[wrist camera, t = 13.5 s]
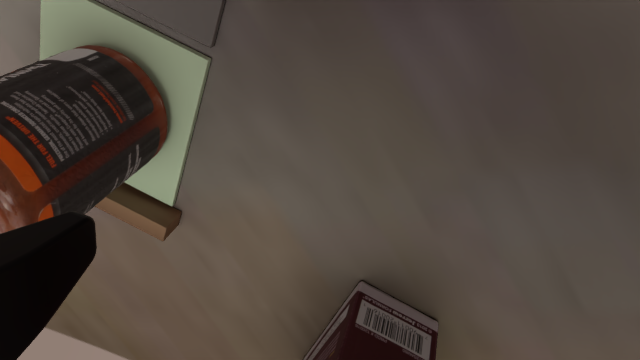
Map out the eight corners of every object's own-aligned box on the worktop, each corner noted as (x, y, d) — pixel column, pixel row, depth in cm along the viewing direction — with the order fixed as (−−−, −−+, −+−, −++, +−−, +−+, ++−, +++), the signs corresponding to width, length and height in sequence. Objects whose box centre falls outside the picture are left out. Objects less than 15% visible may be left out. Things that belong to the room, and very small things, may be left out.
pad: (46, -24, 20) (41, -23, 20) (211, 58, 20) (208, 60, 20) (42, 135, 25) (37, 138, 25) (175, 203, 25) (172, 206, 25)
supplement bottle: (66, 17, 21) (-270, 116, 12) (185, 78, 21) (-58, 229, 11) (58, 126, 24) (-206, 271, 15) (161, 180, 24) (-41, 360, 15)
